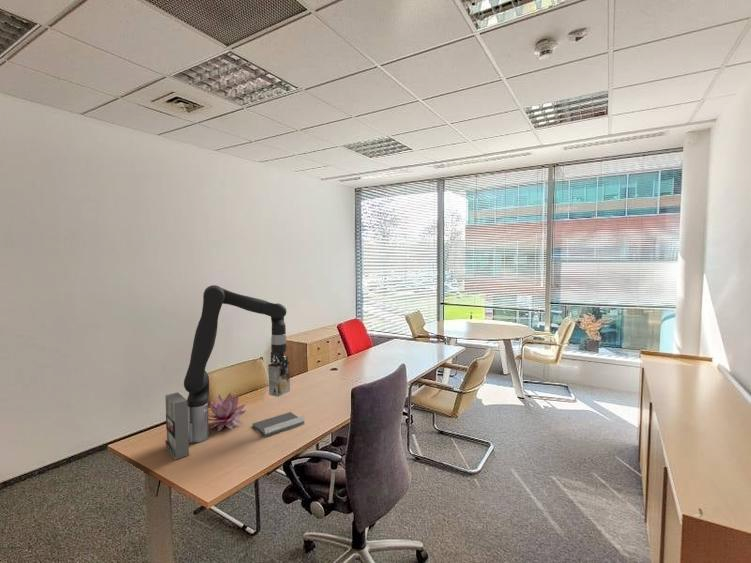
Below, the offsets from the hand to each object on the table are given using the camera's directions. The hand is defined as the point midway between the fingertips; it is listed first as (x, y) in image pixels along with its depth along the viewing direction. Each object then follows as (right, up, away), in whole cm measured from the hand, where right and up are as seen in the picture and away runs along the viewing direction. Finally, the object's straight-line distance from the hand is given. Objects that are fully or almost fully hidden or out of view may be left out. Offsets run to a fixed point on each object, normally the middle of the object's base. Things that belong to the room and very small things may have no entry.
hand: (279, 373), depth 189 cm
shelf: (-1, -28, +3) cm, 28 cm away
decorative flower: (-29, -28, +1) cm, 40 cm away
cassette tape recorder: (-40, -29, -25) cm, 55 cm away
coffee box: (0, -11, +1) cm, 11 cm away
